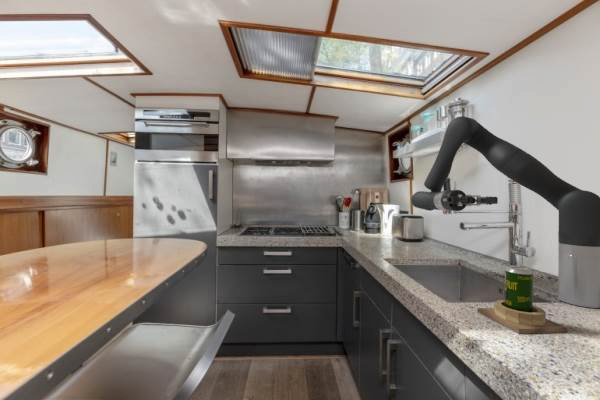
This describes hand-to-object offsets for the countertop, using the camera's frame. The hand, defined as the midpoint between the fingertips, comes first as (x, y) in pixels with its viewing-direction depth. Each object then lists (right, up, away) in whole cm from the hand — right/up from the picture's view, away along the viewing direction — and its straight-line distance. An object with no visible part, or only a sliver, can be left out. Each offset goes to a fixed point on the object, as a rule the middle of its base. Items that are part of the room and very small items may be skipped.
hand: (484, 199), depth 85 cm
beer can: (-4, -29, -18) cm, 34 cm away
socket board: (-4, -30, -18) cm, 35 cm away
